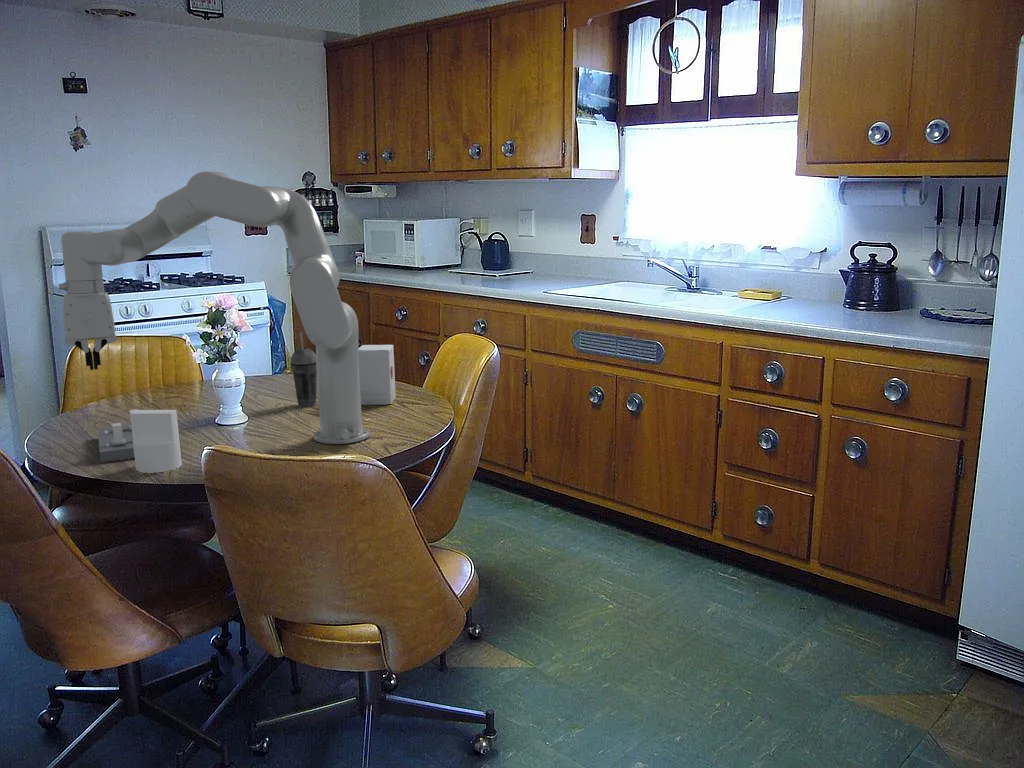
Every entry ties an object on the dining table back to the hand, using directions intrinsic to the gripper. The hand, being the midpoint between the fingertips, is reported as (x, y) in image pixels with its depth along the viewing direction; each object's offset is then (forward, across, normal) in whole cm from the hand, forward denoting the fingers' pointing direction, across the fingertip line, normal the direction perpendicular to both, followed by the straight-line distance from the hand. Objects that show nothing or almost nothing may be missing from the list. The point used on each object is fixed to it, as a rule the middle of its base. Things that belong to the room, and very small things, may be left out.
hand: (93, 368), depth 202 cm
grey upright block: (+18, +10, -26) cm, 33 cm away
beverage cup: (+17, +50, +14) cm, 55 cm away
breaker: (+15, +3, -12) cm, 19 cm away
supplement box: (+17, +68, +9) cm, 71 cm away
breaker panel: (+17, +8, -6) cm, 20 cm away
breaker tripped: (+15, +7, 0) cm, 17 cm away
